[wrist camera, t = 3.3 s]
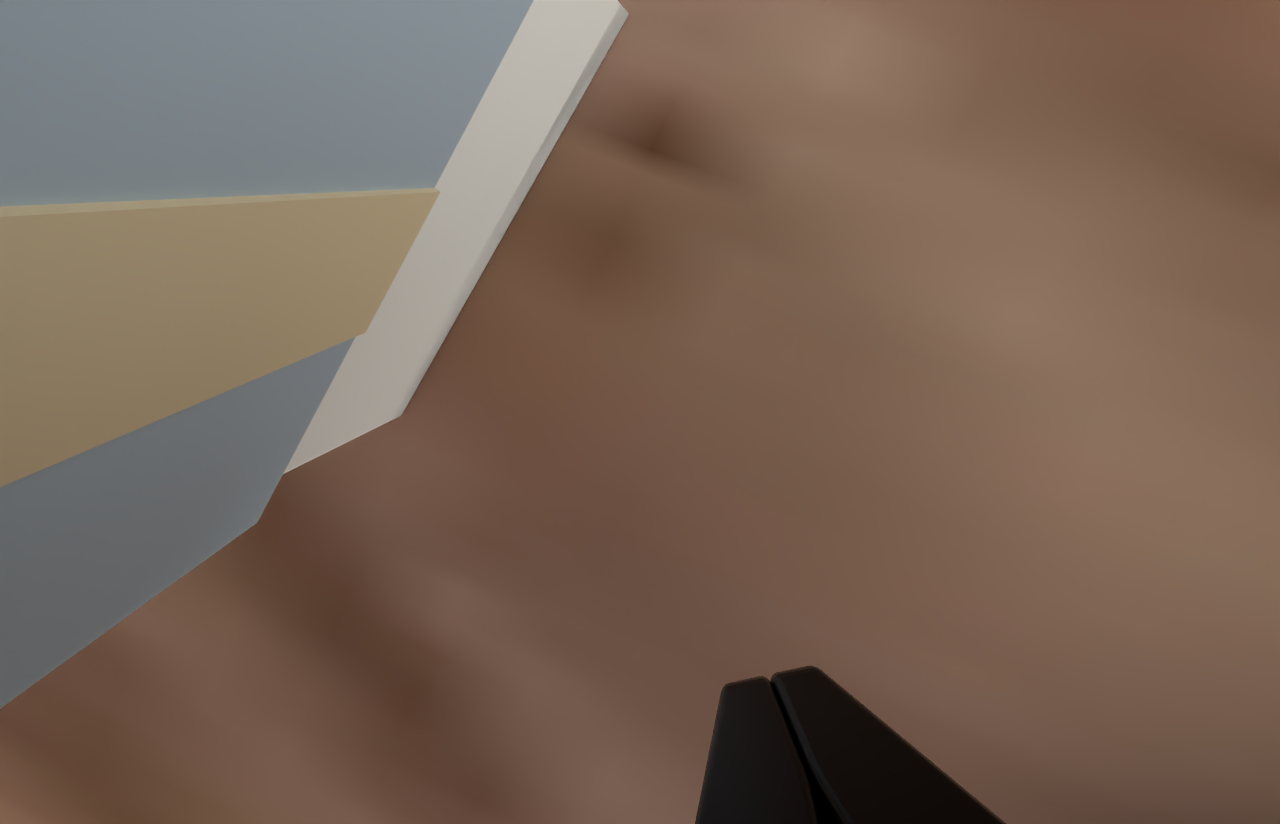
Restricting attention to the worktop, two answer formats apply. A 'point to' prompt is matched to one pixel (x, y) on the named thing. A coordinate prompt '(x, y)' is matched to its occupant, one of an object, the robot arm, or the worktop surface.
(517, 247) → the worktop surface
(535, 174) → the keepsake box
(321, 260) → the lid
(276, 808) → the worktop surface
